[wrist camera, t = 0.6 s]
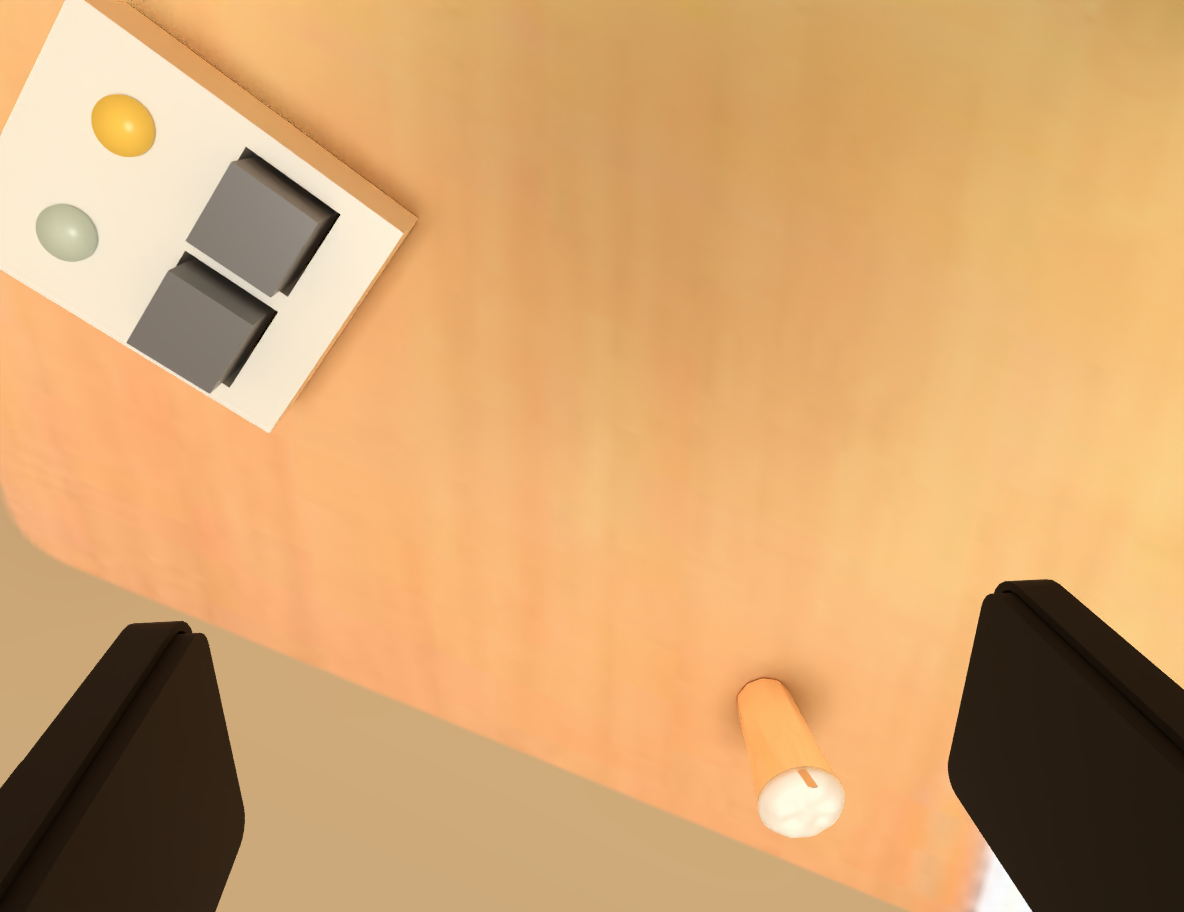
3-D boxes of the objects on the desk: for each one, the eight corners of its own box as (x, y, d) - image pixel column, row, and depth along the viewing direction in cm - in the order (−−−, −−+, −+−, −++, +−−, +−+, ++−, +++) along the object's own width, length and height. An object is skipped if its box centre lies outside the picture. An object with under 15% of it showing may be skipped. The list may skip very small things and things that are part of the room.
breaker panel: (121, -2, 33) (57, -17, 29) (418, 218, 37) (402, 234, 33) (10, 219, 36) (-62, 235, 32) (296, 399, 40) (267, 436, 36)
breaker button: (206, 252, 35) (168, 270, 31) (281, 302, 36) (252, 325, 32) (167, 317, 36) (126, 342, 32) (242, 364, 37) (209, 394, 33)
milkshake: (799, 653, 49) (860, 781, 40) (798, 723, 51) (855, 859, 42) (724, 662, 49) (767, 792, 40) (726, 731, 51) (767, 869, 42)
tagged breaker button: (264, 154, 34) (231, 161, 30) (341, 209, 35) (318, 222, 31) (222, 225, 35) (185, 240, 31) (298, 277, 36) (270, 297, 32)
